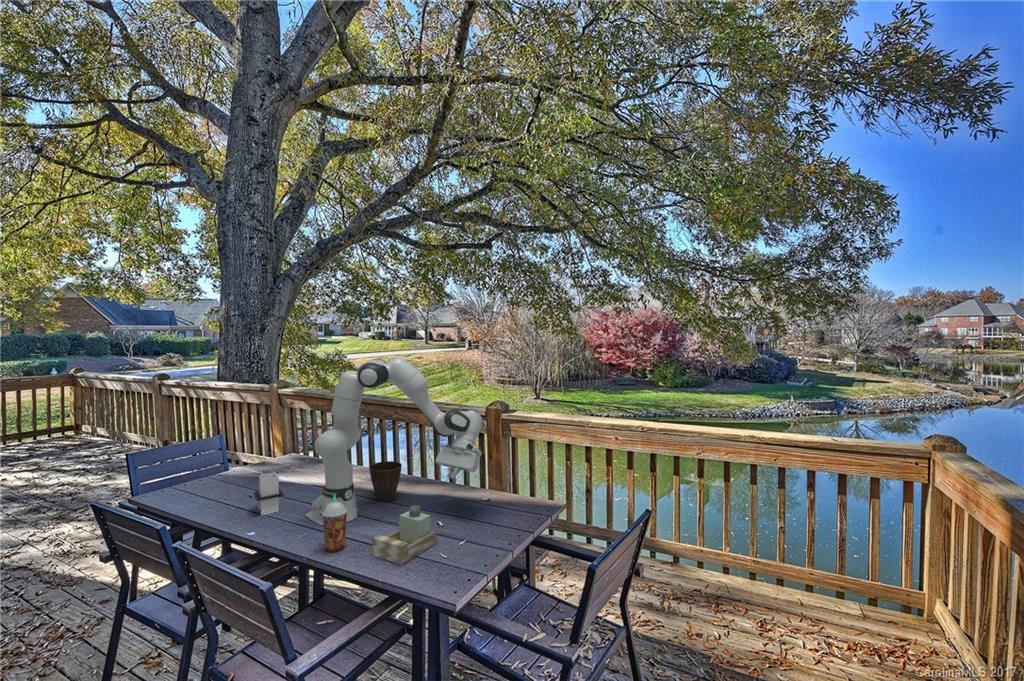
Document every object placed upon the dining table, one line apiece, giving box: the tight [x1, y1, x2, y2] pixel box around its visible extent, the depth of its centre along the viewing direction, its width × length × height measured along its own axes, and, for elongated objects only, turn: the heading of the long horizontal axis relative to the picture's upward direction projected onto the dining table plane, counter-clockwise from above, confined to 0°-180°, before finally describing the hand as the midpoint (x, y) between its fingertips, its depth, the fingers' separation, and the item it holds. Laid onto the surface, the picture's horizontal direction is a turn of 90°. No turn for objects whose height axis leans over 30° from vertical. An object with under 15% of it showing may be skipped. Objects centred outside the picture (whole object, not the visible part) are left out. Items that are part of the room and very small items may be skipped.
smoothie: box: [323, 495, 347, 553], centre depth 172 cm, size 8×8×20 cm
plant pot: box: [368, 460, 403, 503], centre depth 223 cm, size 15×15×16 cm
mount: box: [371, 528, 438, 566], centre depth 171 cm, size 14×19×6 cm
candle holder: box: [253, 471, 285, 517], centre depth 208 cm, size 25×24×16 cm
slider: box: [398, 504, 432, 543], centre depth 176 cm, size 10×6×12 cm, turn 60°
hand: (450, 477), depth 195 cm, fingers closed
